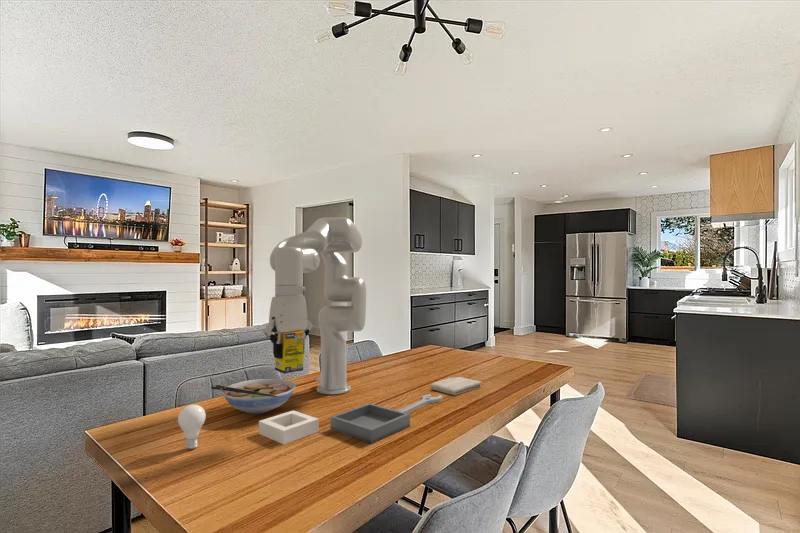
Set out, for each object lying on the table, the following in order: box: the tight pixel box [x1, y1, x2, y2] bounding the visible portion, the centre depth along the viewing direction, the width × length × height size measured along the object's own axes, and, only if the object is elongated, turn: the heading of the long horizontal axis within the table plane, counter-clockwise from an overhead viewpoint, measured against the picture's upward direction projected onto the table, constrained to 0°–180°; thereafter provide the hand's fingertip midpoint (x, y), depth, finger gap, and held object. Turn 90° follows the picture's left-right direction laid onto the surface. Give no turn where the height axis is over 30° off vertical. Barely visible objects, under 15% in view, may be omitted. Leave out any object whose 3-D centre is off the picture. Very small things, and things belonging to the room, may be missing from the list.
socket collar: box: [258, 410, 320, 445], centre depth 118 cm, size 12×12×4 cm
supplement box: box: [274, 331, 304, 374], centre depth 118 cm, size 6×6×11 cm
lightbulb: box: [177, 404, 207, 450], centre depth 107 cm, size 6×6×11 cm
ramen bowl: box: [210, 378, 297, 415], centre depth 137 cm, size 25×23×8 cm
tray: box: [330, 402, 411, 445], centre depth 121 cm, size 16×16×4 cm
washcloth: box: [430, 376, 483, 396], centre depth 162 cm, size 12×18×3 cm, turn 135°
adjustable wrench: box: [397, 393, 443, 414], centre depth 140 cm, size 25×6×2 cm, turn 138°
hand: (289, 355), depth 118 cm, fingers closed on supplement box, 6 cm apart
